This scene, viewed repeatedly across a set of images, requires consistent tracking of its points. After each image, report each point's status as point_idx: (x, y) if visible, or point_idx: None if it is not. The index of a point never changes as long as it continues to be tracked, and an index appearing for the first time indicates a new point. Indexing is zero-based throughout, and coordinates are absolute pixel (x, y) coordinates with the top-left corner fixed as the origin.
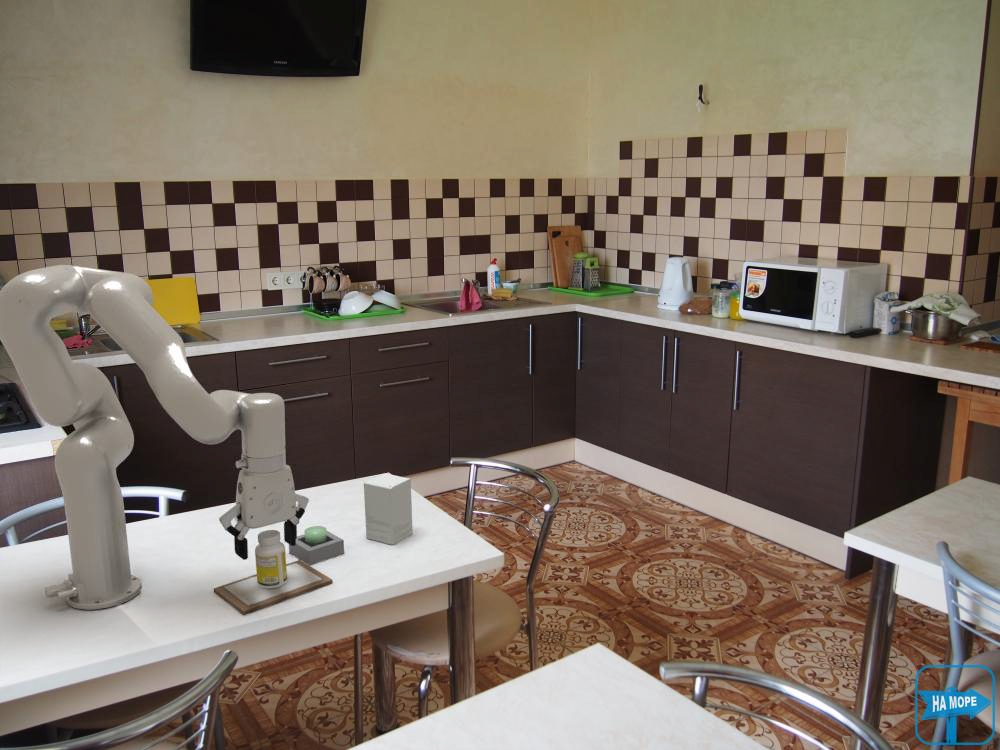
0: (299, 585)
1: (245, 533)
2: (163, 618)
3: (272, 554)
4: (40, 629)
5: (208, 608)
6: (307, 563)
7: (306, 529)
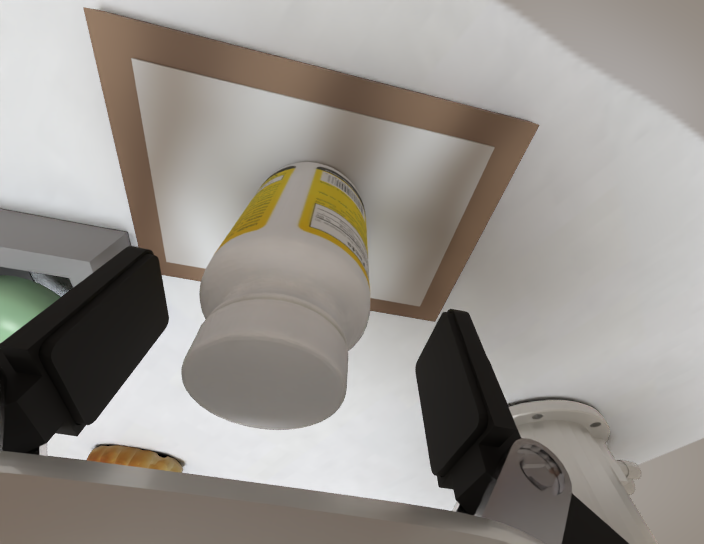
0: (249, 103)
1: (511, 485)
2: (605, 304)
3: (327, 246)
4: (688, 419)
5: (518, 259)
6: (129, 245)
7: None
